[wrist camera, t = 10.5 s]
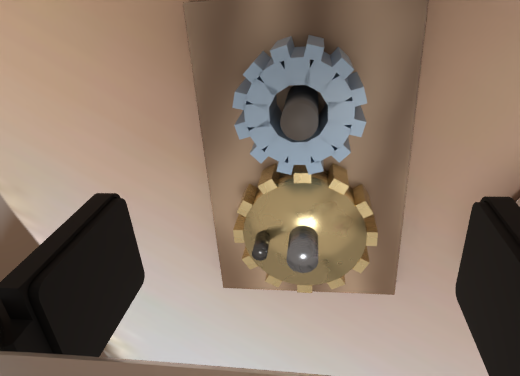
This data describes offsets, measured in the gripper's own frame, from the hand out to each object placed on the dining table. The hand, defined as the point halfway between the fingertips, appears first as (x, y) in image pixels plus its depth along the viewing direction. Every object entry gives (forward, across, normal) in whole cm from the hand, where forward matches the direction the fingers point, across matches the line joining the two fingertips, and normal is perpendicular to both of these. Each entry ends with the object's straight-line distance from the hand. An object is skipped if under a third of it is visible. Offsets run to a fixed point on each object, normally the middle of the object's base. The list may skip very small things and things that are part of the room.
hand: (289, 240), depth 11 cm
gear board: (+17, 0, +5) cm, 18 cm away
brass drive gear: (+16, 0, +9) cm, 18 cm away
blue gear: (+16, 0, 0) cm, 16 cm away
